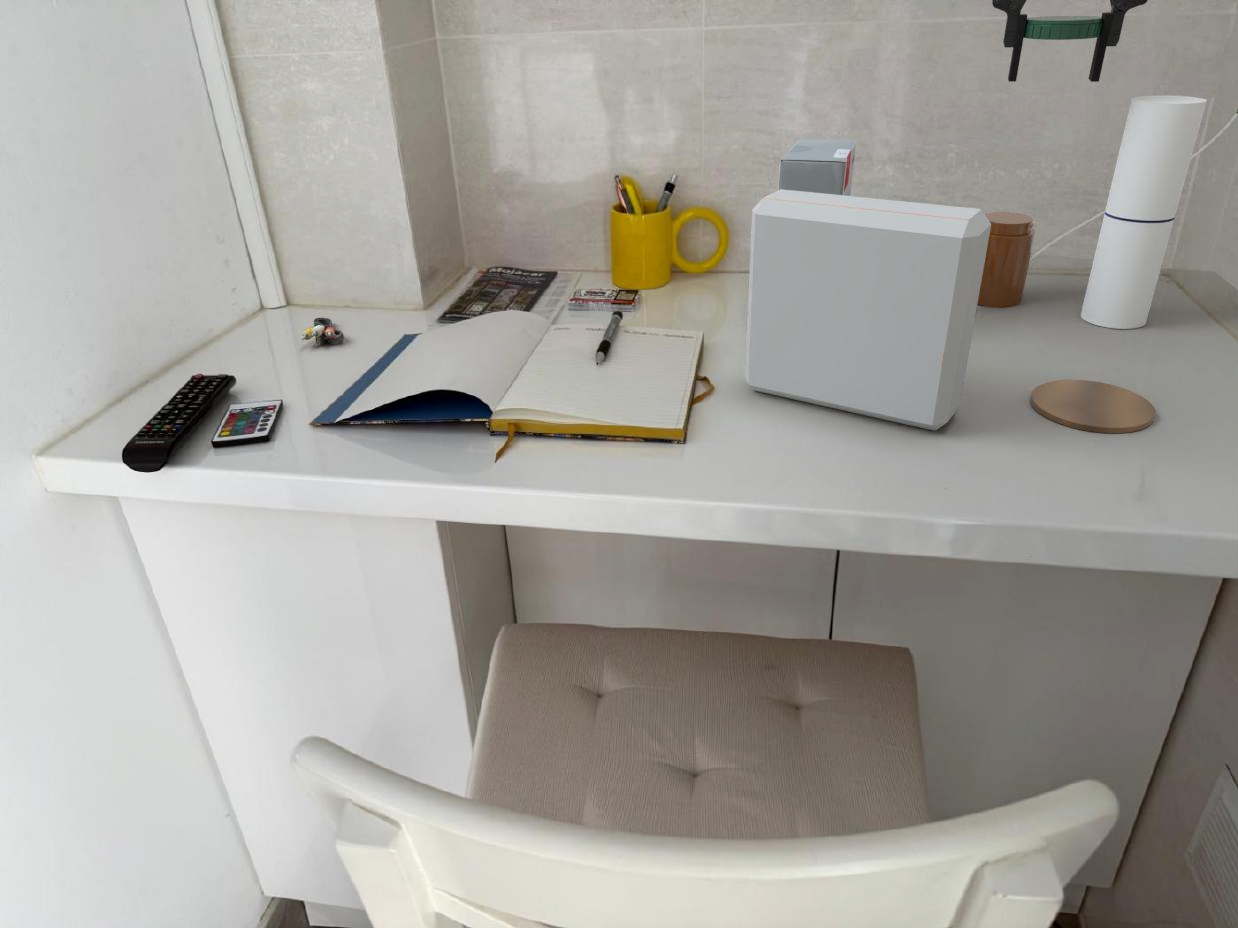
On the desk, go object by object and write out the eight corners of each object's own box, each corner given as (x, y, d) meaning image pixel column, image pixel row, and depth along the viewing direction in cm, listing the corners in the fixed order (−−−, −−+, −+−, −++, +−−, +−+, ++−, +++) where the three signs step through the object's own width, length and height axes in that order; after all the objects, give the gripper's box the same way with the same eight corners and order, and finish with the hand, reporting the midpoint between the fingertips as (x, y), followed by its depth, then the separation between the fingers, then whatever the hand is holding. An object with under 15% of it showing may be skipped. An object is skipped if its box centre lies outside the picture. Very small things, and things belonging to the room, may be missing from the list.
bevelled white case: (964, 406, 88) (1000, 204, 78) (941, 439, 82) (977, 225, 72) (771, 366, 98) (781, 183, 88) (738, 393, 92) (746, 200, 82)
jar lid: (1023, 40, 93) (1026, 21, 92) (1020, 34, 99) (1023, 16, 98) (1104, 39, 90) (1108, 19, 89) (1095, 33, 96) (1099, 15, 96)
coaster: (1143, 390, 90) (1144, 385, 89) (1164, 439, 80) (1166, 433, 80) (1026, 380, 93) (1027, 374, 92) (1034, 425, 84) (1035, 420, 83)
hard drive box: (830, 330, 107) (845, 161, 97) (767, 325, 109) (776, 159, 99) (842, 291, 120) (857, 137, 110) (786, 287, 122) (795, 136, 112)
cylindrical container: (1078, 323, 106) (1130, 102, 94) (1082, 306, 112) (1132, 94, 99) (1145, 332, 103) (1208, 104, 91) (1146, 313, 108) (1205, 96, 96)
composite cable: (314, 324, 115) (310, 306, 114) (351, 321, 116) (347, 303, 115) (303, 352, 107) (298, 333, 106) (343, 348, 107) (339, 329, 106)
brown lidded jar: (1019, 291, 117) (1035, 212, 112) (1023, 309, 111) (1039, 226, 106) (964, 288, 119) (977, 210, 114) (964, 305, 113) (978, 223, 108)
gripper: (989, -170, 85) (953, 84, 97) (1231, -189, 79) (1162, 84, 90) (988, -161, 92) (954, 76, 103) (1212, -179, 85) (1150, 76, 97)
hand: (1052, 80), depth 97 cm, fingers closed on jar lid, 7 cm apart
